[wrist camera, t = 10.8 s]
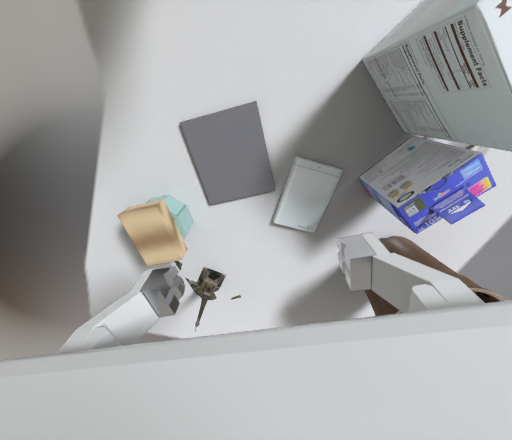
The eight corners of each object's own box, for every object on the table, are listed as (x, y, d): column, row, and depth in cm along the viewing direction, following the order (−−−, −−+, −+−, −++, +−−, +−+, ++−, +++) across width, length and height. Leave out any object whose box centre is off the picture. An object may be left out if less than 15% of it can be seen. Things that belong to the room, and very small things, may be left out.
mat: (181, 122, 34) (179, 122, 33) (256, 101, 32) (256, 101, 31) (211, 203, 40) (210, 204, 39) (275, 189, 38) (275, 190, 38)
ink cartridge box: (373, 200, 39) (427, 247, 26) (356, 178, 37) (404, 216, 24) (429, 161, 35) (523, 193, 22) (412, 134, 33) (504, 153, 21)
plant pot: (377, 212, 40) (441, 273, 25) (448, 242, 42) (543, 312, 28) (330, 275, 47) (359, 349, 33) (393, 297, 49) (445, 376, 35)
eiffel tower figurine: (173, 257, 47) (142, 308, 35) (215, 244, 45) (197, 294, 33) (204, 304, 53) (187, 361, 41) (242, 294, 51) (236, 351, 40)
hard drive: (314, 233, 41) (344, 171, 35) (272, 223, 40) (296, 157, 34) (312, 229, 42) (341, 168, 37) (272, 219, 42) (295, 155, 36)
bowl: (136, 201, 40) (122, 212, 36) (180, 191, 39) (171, 201, 35) (157, 240, 44) (147, 254, 40) (198, 232, 43) (191, 245, 39)
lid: (128, 207, 36) (117, 215, 33) (163, 199, 35) (155, 206, 32) (155, 255, 40) (147, 266, 38) (187, 249, 39) (182, 259, 37)
